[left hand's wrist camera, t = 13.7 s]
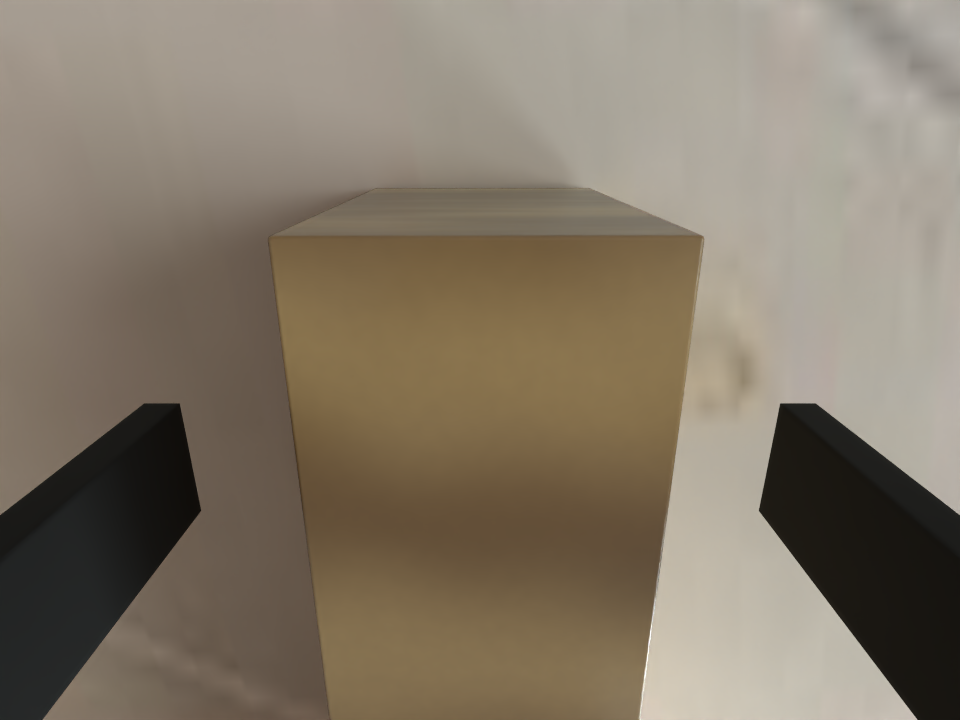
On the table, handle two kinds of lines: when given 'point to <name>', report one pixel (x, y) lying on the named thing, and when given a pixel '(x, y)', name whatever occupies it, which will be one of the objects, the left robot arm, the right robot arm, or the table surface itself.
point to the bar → (485, 444)
